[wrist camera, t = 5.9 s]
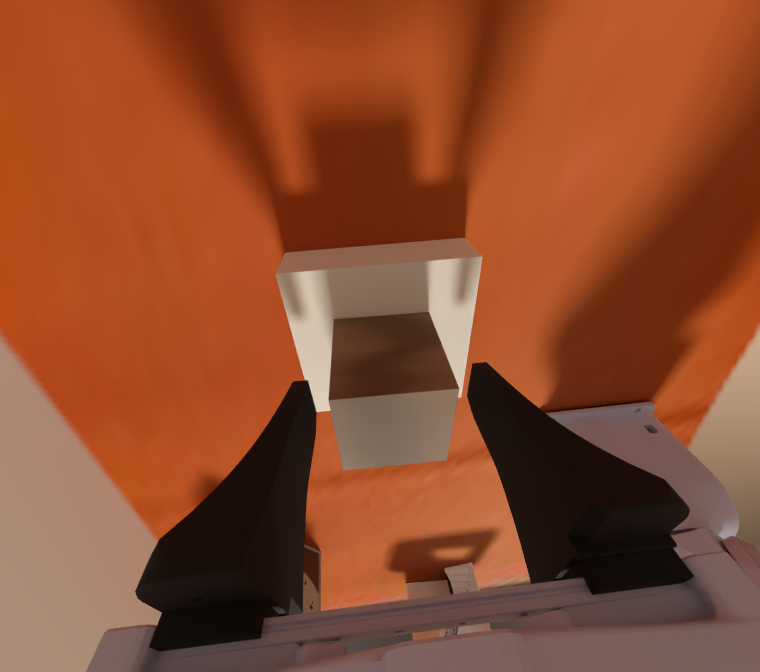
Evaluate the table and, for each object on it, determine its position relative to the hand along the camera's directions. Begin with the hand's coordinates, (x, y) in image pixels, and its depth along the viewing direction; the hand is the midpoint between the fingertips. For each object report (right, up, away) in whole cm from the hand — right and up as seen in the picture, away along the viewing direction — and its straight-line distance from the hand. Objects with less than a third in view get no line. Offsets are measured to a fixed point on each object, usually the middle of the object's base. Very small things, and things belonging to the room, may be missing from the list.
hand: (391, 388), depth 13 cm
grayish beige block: (0, +1, +3) cm, 3 cm away
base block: (-1, +4, +5) cm, 6 cm away
